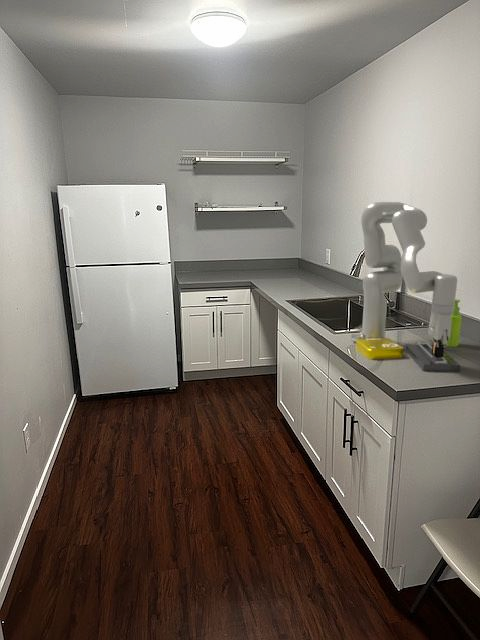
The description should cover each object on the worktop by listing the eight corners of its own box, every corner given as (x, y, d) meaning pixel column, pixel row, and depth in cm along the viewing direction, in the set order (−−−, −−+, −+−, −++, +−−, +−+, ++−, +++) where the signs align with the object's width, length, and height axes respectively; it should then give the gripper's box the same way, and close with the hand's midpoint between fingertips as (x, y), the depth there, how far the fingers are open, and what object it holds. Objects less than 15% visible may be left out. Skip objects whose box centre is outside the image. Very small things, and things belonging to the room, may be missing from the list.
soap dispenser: (443, 341, 201) (448, 297, 196) (459, 344, 197) (465, 299, 192) (439, 344, 197) (444, 299, 192) (456, 347, 193) (461, 301, 188)
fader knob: (434, 360, 169) (436, 343, 168) (431, 357, 173) (433, 340, 171) (442, 360, 169) (444, 343, 167) (439, 357, 172) (440, 341, 171)
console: (423, 370, 167) (424, 361, 166) (404, 350, 190) (405, 342, 189) (459, 371, 166) (460, 362, 165) (436, 350, 189) (437, 342, 188)
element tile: (387, 346, 195) (387, 336, 194) (404, 358, 181) (405, 347, 180) (354, 348, 193) (354, 338, 192) (369, 360, 179) (369, 349, 178)
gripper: (425, 303, 174) (420, 349, 178) (439, 313, 158) (434, 363, 163) (445, 303, 173) (440, 349, 178) (461, 313, 158) (455, 363, 163)
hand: (437, 355), depth 171 cm, fingers closed on fader knob, 2 cm apart
